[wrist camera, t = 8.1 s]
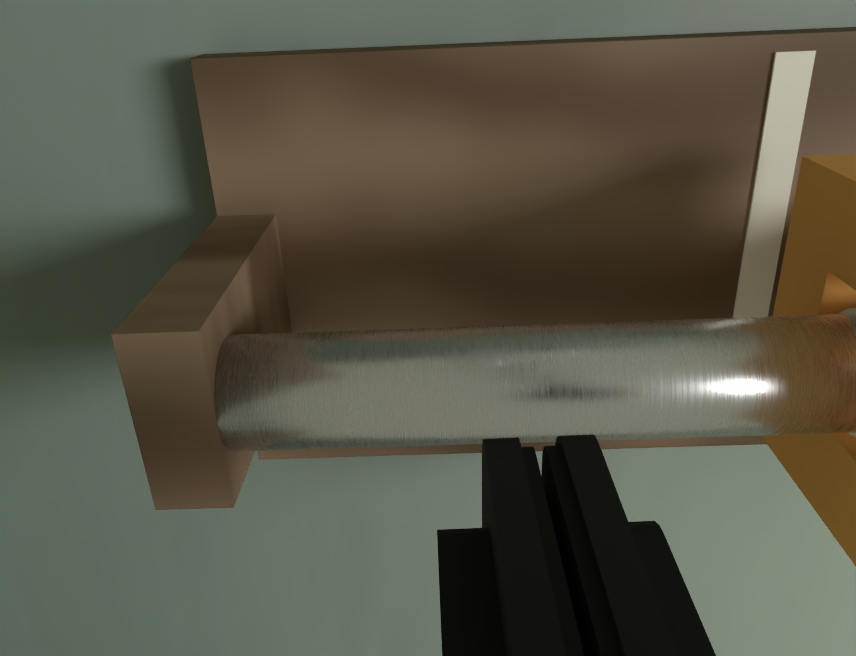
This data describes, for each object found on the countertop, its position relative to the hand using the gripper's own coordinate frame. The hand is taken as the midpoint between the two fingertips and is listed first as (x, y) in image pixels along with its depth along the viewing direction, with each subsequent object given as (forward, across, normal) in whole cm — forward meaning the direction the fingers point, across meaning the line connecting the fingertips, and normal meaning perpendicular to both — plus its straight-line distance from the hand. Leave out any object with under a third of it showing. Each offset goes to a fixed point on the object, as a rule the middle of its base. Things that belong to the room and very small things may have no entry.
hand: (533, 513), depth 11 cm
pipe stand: (+16, -4, +3) cm, 17 cm away
